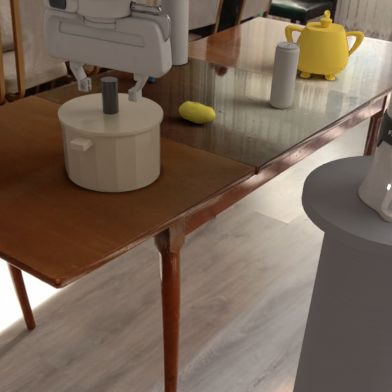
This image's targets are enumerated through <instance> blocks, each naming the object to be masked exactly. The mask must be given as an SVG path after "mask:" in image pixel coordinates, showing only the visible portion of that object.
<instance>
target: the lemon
mask: <svg viewBox="0 0 392 392" xmlns="http://www.w3.org/2000/svg"><path fill="white" fill-rule="evenodd" d="M178 114H179V116H180V117H181V118H182V119H184V120H186V121H189V122H192V123H195V124H198V125H203V124H206V123H212V122H213V121H214V120H215V119H216V112H215V110H214V109H213V107H211V106H207V105H205V104H202V103H200V102H198V101H190V100H187V101H185V102H183V103H182V104H181V105H180V106H179V108H178Z"/></svg>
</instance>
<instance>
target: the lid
mask: <svg viewBox="0 0 392 392" xmlns="http://www.w3.org/2000/svg"><path fill="white" fill-rule="evenodd" d="M100 91H101V92H99V93H90V94H85V95H81V96H77V97H73V98H71V99H69V100H68V101H65V102H64V103H63V104H61V105H60V107H59V108H58V110H57V118H58V121H59V122H60V125H61V124H62V125H64V126H65V127H67V128H68V129H70V130H73V131H76V132H79V133H82V134H87V135H93V136H104V137H116V136H128V135H134V134H139V133H142V132H145V131H148V130H151V129H153V128H154V127H156V126H157V125H159V124H160V123H161V124H162V122H163V119H164V110H163V108H162V106H161V105H160V104H158V103H157V102H156V101H153V100H152V99H149V98H147V97H144V96H142V99H141V101H140V102H138V103H136V102H131V101H129V100H128V97H129V95H128V93H125V92H123V93H121V92H119V80H118V78H117V77H114V76H104V77H102V78H100Z"/></svg>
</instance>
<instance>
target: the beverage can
mask: <svg viewBox="0 0 392 392" xmlns="http://www.w3.org/2000/svg"><path fill="white" fill-rule="evenodd" d="M299 47H300V45H299V44H297V43H296V42H294V41H293V42H289V41H287V40H285V41H283V40H282V41H278V42H277V43H276V46H275V50H274V58H273V59H274V60H273V67H272V76H271V84H270V85H271V87H270V95H269V104H270V105H271V107H273V108H275V109H279V110H287V109H289V108H290V107H292V105H293V101H294V94H295V86H296V78H297V71H298V69H297V66H298V59H299V52H300V49H299Z"/></svg>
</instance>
